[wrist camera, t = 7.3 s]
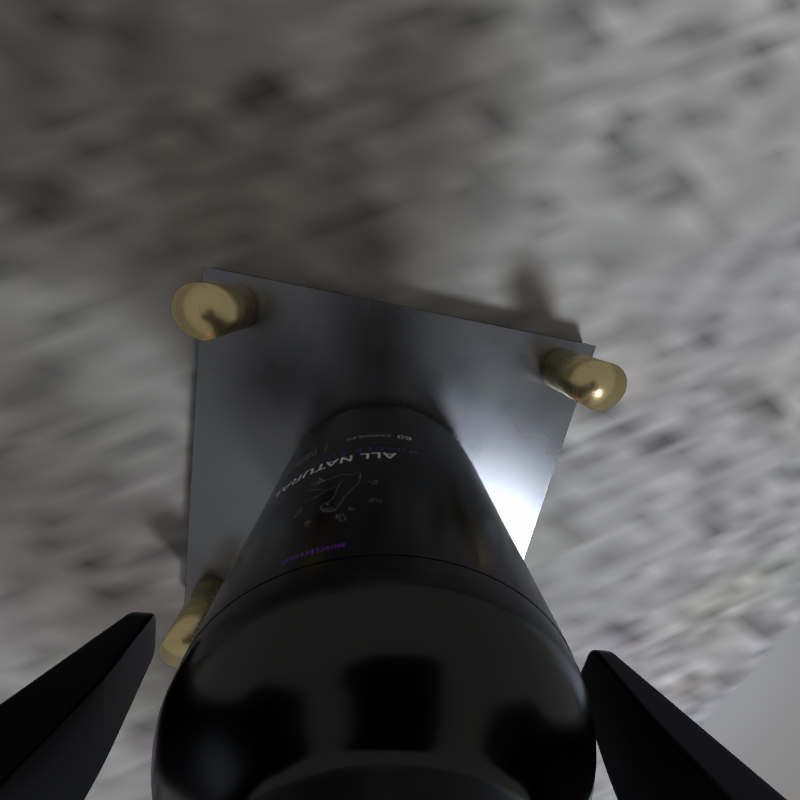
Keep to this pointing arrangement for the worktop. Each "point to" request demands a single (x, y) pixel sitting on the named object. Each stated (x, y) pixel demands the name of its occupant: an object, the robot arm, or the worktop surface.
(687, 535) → the worktop surface
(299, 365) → the chassis plate
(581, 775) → the supplement bottle
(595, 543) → the worktop surface
